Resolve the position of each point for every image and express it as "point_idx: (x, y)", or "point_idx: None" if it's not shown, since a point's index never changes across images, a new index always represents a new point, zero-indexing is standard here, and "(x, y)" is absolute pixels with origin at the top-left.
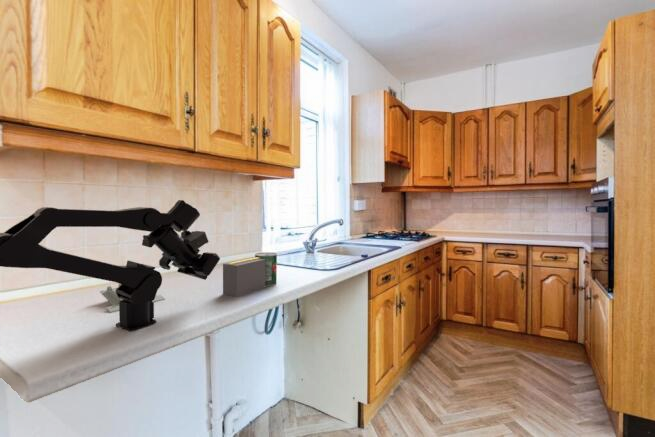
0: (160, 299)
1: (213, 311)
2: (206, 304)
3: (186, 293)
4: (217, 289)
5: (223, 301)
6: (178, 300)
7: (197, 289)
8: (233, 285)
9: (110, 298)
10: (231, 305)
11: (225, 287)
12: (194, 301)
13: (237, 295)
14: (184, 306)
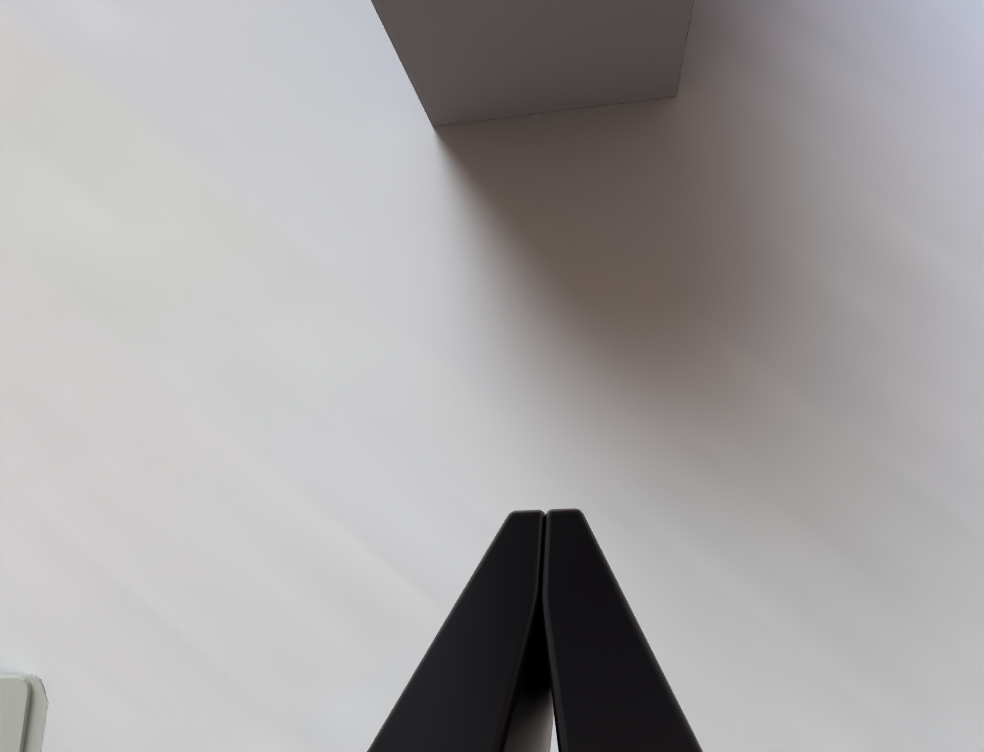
0: (13, 736)
1: (953, 688)
2: (617, 531)
3: (49, 367)
4: (221, 44)
5: (693, 322)
6: (195, 610)
7: (29, 186)
8: (617, 9)
9: None
10: (931, 377)
11: (455, 66)
12: (388, 529)
13: (675, 76)
14: None
